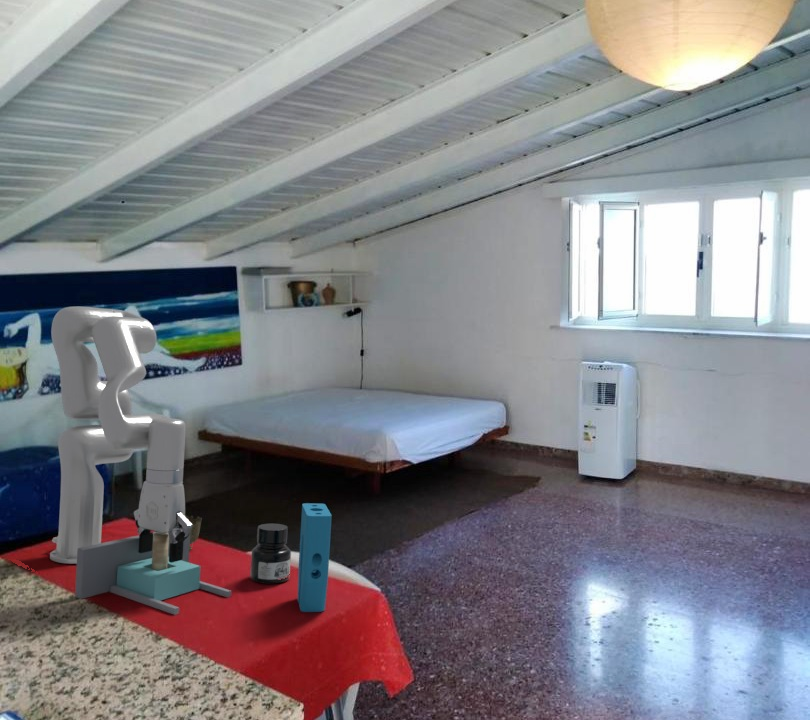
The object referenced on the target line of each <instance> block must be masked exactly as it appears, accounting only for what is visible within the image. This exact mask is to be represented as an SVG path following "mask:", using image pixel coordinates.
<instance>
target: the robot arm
mask: <svg viewBox="0 0 810 720" xmlns="http://www.w3.org/2000/svg"><path fill="white" fill-rule="evenodd" d="M50 333H51V341H52V346H53V349H54V351H55V354H56V358H57V361H58V366H59V376H60V377H59V379H60V380H59V381H60V389H61V392H60V393H61V403H62V410H63V413H64V415H65V416H66V417H67V418H68V419H71V420H74V421H94V420H95V421H97V420H99V423H100V424H86V425H85V424H84V425H75V426H72V427H69V428H67V429H65V430H64V431H63V432H62V433H61V435H60V436H59V438H58V443H57V444H58V454H59V463H60V499H59V517H58V518H59V519H58V535H57V536H55V537H53V538H52V540H51V541H52V543H54V544H56V548H55V549H54V550H52V551H51V552H50V553H49V559H50V560H51V561H53V562H55V563H59V564H60V563H61V564H69V565H73V564H74V565H77V550H78V548H81V547H85V546H90V545H95V544H100V543H102V528H103V526H102V525H103V512H104V510H103V509H104V491H105V490H104V489H105V485H104V479H103V477H102V475H101V474H100V472H99V470H98V469H97V467H96V466H98V465H102V464H103V465H104V464H115V463H122V462H125V461H128V460H129V459H130V458H131V457H132V456H133V454H134V452H135V451H134V450H142V449H144V450H146V449H147V451H146V453H147V455H146V474H145V481H143V484H142V488H141V491H140V497H139V502H138V503H139V504H138V508H137V509H136V510H134V511H133V517H134V519H135V525H136V526H135V527H136V528H137V530H136V531H137V534H138V535H139V550H138V552H139V553H145V552H149V551H152V545H153V532H159V533H163V534H166V533H168V534H169V536H170V538H171V541H172V543H170V548H169V562H171V563H172V562H176V561H180V560H182V559H183V543H184V542H185V541H186V538H187V537H188V536H189V533H190V531H191V528H192V523H191V522H190V521H189V520H188V519H187V518H186V517H185V515H186V498H185V495H186V494H185V488H184V487H185V486H184V484H183V483H184V481H183V480H184V467H185V464H184V463H185V451H186V450H185V448H186V447H185V446H186V428H187V427H186V423H185V421H184V420H183V419H179V418H170V417H168V416H167V415H164V414H162V413H160V414H159V413H150V414H149V413H146V414H145V413H138V414H137V413H136V414H133V405H132V398H131V394H130V392H129V389H131V388H133V387H134V386H137V385H138V384H139V383H141V382H142V381H143V380H144V379H145V377H146V375H147V370H146V367H145V364H144V362H143V358H142V356H141V354H148V353H151V352H152V351H153V350H154V349H155V347H156V343H157V339H158V338H157V331H156V329H155V327H154V325H153V324H152V323H151V322H150V321H149V320H148V319H146V318H144V317H141V316H139V315H137V314H133V313H131V312H129V311H125V310H121V309H114V308H102V307H94V306H93V307H92V306H79V305H78V306H67V307H63V308H61V309H59V311H57V313H56V314H55V315H54V317H53V320H52V322H51V330H50ZM85 343H94V345H95V348H96V351H97V353H98V357H99V360H100V362H101V365H102V369H103V372H104V374H105V376H106V377H105V378H106V379H107V380H101V379H100V378H99V370H98V369H99V368H98V362H97V359H96V358H95V356H94V354H93V352H92V351H91V350H90V348H88V346H86V344H85ZM175 532H177V534H178V535H177V536H176V535H175Z"/></svg>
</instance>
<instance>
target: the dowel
mask: <svg viewBox="0 0 810 720" xmlns="http://www.w3.org/2000/svg"><path fill="white" fill-rule="evenodd" d="M168 546H169V534H168V533H166V534H163V533H159V532H158V533H154V534H153V552H152V569H153V570H156V571H160V570H164V569H167V564H168Z"/></svg>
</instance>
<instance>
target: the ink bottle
mask: <svg viewBox="0 0 810 720" xmlns="http://www.w3.org/2000/svg"><path fill="white" fill-rule="evenodd" d="M288 528H289V527H288V526H287V525H285V524H282V523H281V524H280V523H262V524H260V525H258V526H257V533H256V542H257V544H256V546H255V547H253V548H252V550H251V557H250V558H251V561H250V574H249V575H250V579H251V580H252V581H254V582H256V583H259V584H265V585H266V584H267V585H274V584H281V583H284V582H286V581H289V580H290V576H291V559H292V557H291V556H292V552H291V549H290V548H289V547H288V545H286V544H288V541H287V540H288V531H289V529H288ZM289 574H290V575H289ZM288 575H289V577H287V576H288ZM285 577H287V578H285ZM283 578H285V579H283ZM278 579H281V580H278Z"/></svg>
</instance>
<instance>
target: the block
mask: <svg viewBox="0 0 810 720" xmlns="http://www.w3.org/2000/svg"><path fill="white" fill-rule="evenodd" d="M331 529H332V513H331V512H330V509H328V507H327V505H326V504H325V503H309V502H306V503H302V505H301V521H300V537H299V539H300V540H299V551H298V552H299V553H298V554H299V555H298V569H297V570H298V571H297V572H298V573H297V574H298V575H297V576H298V577H297V602H298V604H299V606H298V607H299V610H300V612H303V613H317V612H318V613H319V612H325V611H326V601H327V591H328V580H329V564H330V550H331V549H330V547H331Z"/></svg>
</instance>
